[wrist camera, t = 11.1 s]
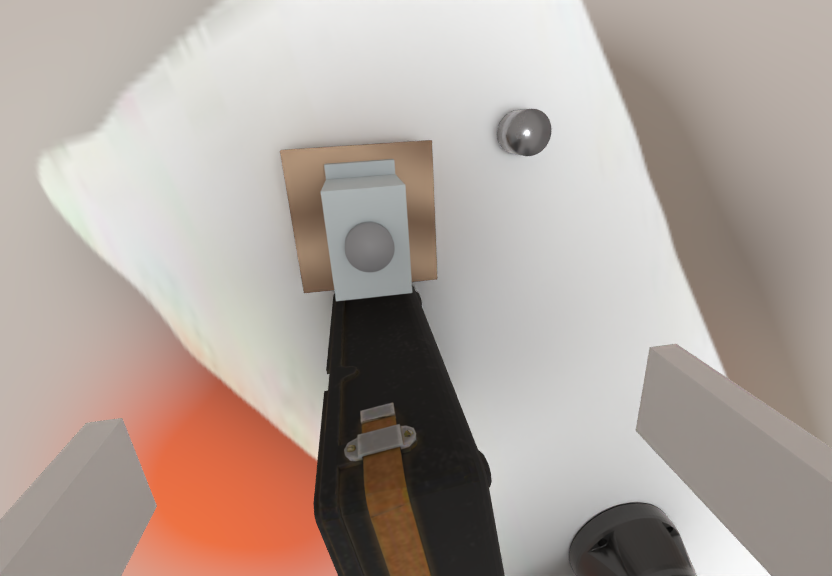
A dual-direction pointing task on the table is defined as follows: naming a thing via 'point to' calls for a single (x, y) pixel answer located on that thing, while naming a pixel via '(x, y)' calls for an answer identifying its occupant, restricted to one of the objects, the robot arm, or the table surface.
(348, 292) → the housing
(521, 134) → the dark grey metallic dome
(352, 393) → the black carrying case
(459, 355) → the table surface
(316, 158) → the stand
